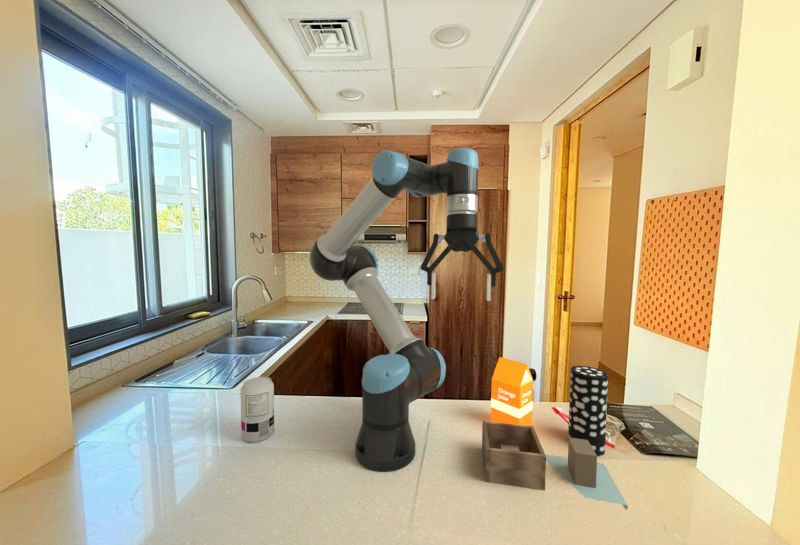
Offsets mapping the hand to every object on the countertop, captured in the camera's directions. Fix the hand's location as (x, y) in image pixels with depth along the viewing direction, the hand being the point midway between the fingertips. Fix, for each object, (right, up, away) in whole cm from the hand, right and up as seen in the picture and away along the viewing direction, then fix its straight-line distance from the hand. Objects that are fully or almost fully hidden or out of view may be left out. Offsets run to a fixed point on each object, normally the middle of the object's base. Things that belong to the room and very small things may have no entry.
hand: (460, 299), depth 78 cm
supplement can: (-54, -38, +7) cm, 67 cm away
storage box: (+10, -39, -6) cm, 41 cm away
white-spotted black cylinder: (+34, -39, +3) cm, 52 cm away
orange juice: (+17, -39, +12) cm, 44 cm away
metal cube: (+10, -38, -6) cm, 40 cm away
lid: (+25, -40, -9) cm, 48 cm away
